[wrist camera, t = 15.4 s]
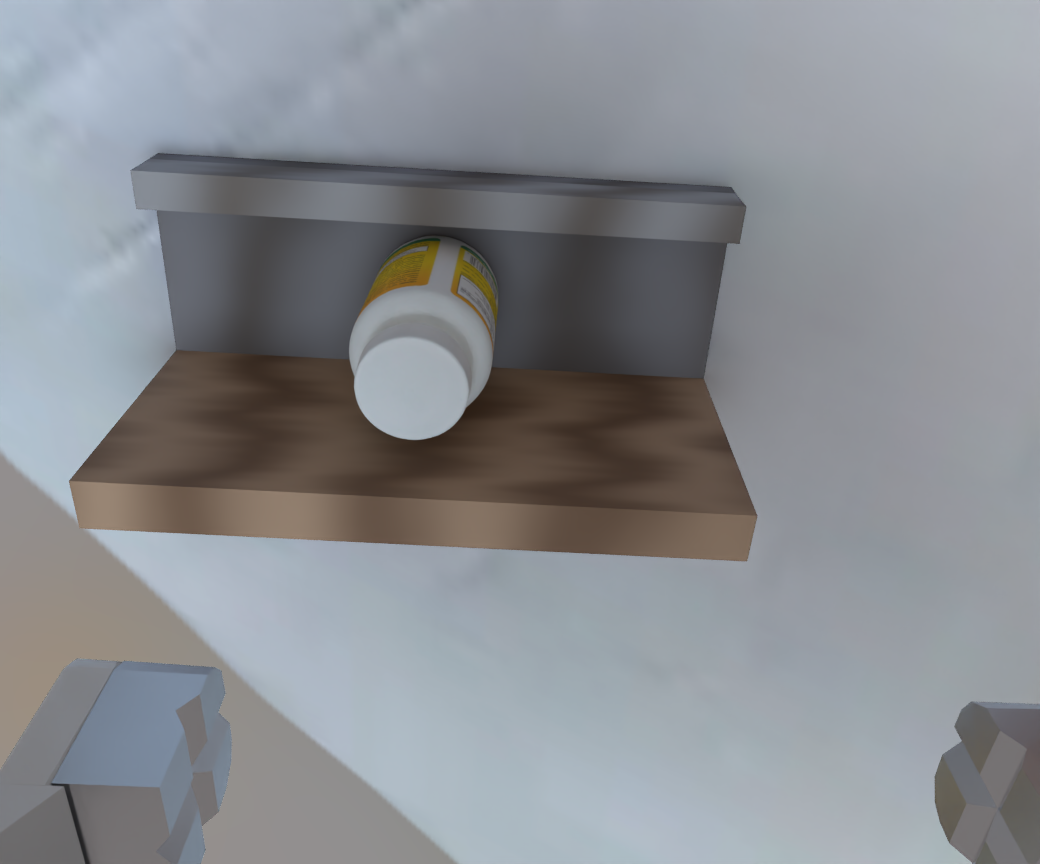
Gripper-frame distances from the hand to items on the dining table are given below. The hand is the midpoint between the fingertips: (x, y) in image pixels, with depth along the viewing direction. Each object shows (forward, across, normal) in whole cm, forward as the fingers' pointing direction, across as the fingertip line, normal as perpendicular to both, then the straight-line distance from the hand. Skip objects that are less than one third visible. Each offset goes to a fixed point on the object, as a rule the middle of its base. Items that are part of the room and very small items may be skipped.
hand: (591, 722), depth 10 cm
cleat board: (+31, -4, -7) cm, 32 cm away
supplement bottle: (+30, -4, -6) cm, 31 cm away
